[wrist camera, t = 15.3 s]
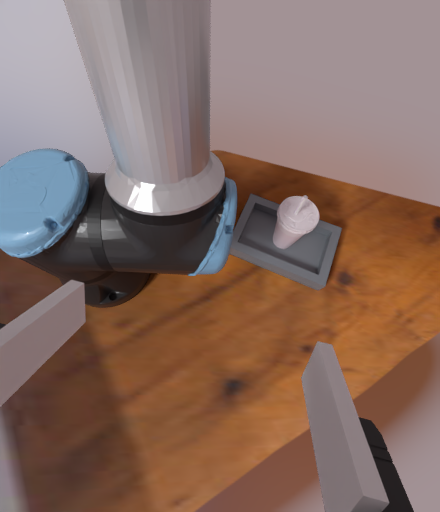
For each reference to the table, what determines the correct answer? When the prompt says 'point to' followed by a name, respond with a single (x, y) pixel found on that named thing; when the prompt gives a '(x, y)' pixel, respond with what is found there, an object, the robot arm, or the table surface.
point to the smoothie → (294, 220)
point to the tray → (290, 259)
